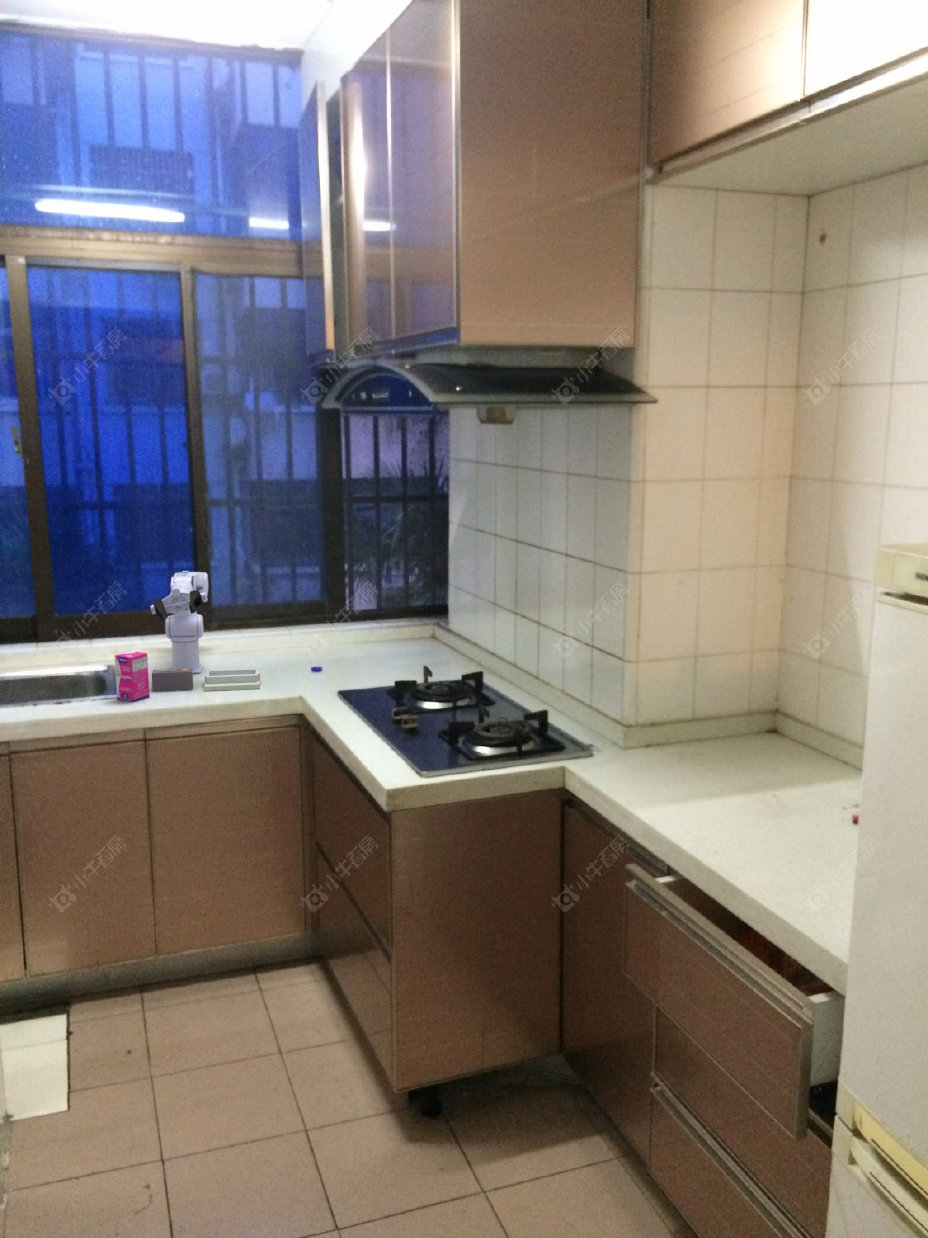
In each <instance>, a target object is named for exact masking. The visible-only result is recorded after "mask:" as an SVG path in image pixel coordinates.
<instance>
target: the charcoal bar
mask: <svg viewBox="0 0 928 1238" xmlns="http://www.w3.org/2000/svg"><path fill="white" fill-rule="evenodd" d="M151 685H152V686H151V687H152V688H151V689H152V693H156V692H160V693H161V692H177V691H176V690H183V691H193V690H194V673H193V668H189V669H172V668H170V669H153V670H152V671H151Z"/></svg>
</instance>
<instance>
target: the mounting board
mask: <svg viewBox="0 0 928 1238" xmlns="http://www.w3.org/2000/svg"><path fill="white" fill-rule="evenodd" d="M260 673H261V672H260V669H259V668H257V667H254V668H253V667H251V668H250V667H249V668H227V669H223V668H222V669H208V670H206V671H205V672H204V685H203V692H214V691H213V690H222V691H240V690H241V691H242V690H245V691H246V690H260V689H261V685H260V683H261V680H260V679H261V676H260Z"/></svg>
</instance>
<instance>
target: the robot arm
mask: <svg viewBox="0 0 928 1238" xmlns="http://www.w3.org/2000/svg"><path fill="white" fill-rule="evenodd" d="M208 593H209V574H208V573H207V572H206V571H205V572H202V571H201V572H200V571H189V570H183V571H181V572H175V573H174V575H173V576H171V579H170V593H169V595H167V596H166V597H165V598H163V599H162V598H159V599H155V600H154V601H152V605H150V611H151V614H152V615H156V617H157V619H158V621H162V622H163V621H165V625H164V626H165V636H166V638H167V639H169V640H170V642H171V654H172V668H171V669H189V668H193V674H201V673H202V668H203V664H202V663H200V643H199V639H202V637H203V636H204V617H203V615H202V614H198V613H197V612H200V611H203V610H204V609H205V605H204V603H206V602H208ZM168 614H172V615H168Z"/></svg>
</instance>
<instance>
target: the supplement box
mask: <svg viewBox="0 0 928 1238" xmlns="http://www.w3.org/2000/svg"><path fill="white" fill-rule="evenodd" d="M113 656H114V671H115V684H116V685H115V686H116V687H115V688H116V698H117V700H122V701H128V702H132V703H135V702H138V701H141V700H144V699H148V698H150V697H151V695H150V680H149V677H150V675H149V665H148V653H146V652H140V651H134V650H129V651H128V650H127V651H125V652H122V653H118V654H115V655H113Z"/></svg>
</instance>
